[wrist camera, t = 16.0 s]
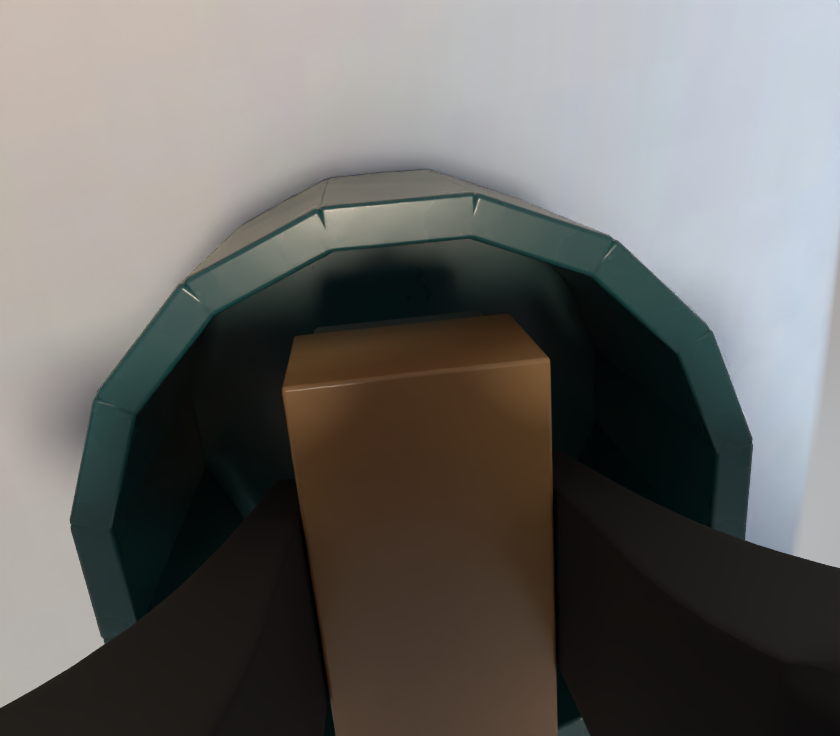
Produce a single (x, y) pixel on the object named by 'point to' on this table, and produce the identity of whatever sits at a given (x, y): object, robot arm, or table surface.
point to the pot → (376, 301)
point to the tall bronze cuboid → (429, 522)
